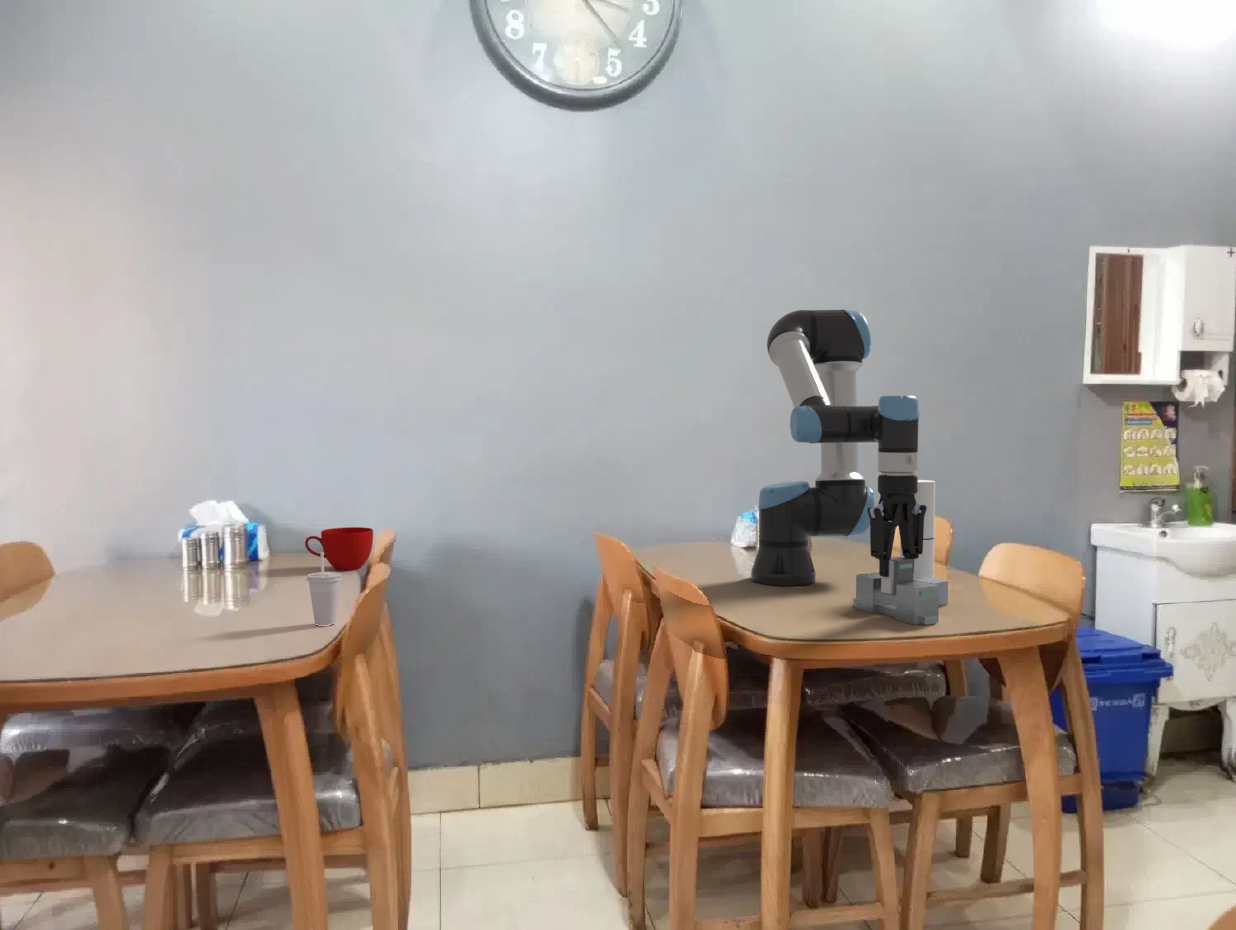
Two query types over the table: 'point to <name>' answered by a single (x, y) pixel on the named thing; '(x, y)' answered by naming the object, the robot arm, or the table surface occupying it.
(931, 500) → the cylindrical container
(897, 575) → the block
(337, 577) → the smoothie
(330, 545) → the ceramic cup
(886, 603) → the grey stepped block assembly
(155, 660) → the table surface
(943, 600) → the loose block slate
